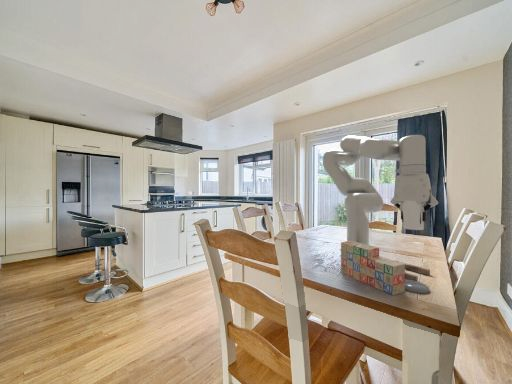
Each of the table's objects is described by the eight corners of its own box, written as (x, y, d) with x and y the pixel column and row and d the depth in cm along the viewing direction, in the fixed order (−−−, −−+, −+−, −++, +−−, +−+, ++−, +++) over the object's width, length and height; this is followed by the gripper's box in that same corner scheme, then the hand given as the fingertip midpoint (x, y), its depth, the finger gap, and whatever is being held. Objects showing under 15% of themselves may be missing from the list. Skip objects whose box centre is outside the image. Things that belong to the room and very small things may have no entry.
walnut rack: (379, 271, 87) (379, 266, 87) (394, 265, 94) (395, 260, 94) (415, 282, 76) (415, 276, 76) (429, 274, 83) (429, 269, 83)
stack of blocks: (405, 292, 69) (405, 254, 69) (392, 296, 67) (392, 256, 66) (351, 269, 89) (352, 240, 89) (340, 272, 86) (340, 241, 86)
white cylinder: (397, 227, 77) (397, 200, 78) (410, 226, 80) (410, 200, 80) (416, 230, 71) (415, 200, 71) (430, 229, 73) (429, 200, 73)
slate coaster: (391, 285, 74) (391, 283, 74) (403, 279, 79) (403, 277, 79) (423, 296, 66) (423, 293, 66) (433, 288, 71) (433, 286, 71)
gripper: (382, 172, 80) (382, 221, 80) (439, 167, 67) (440, 226, 66) (391, 173, 85) (391, 219, 84) (446, 169, 71) (447, 224, 71)
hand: (412, 222), depth 75 cm, fingers closed on white cylinder, 4 cm apart
